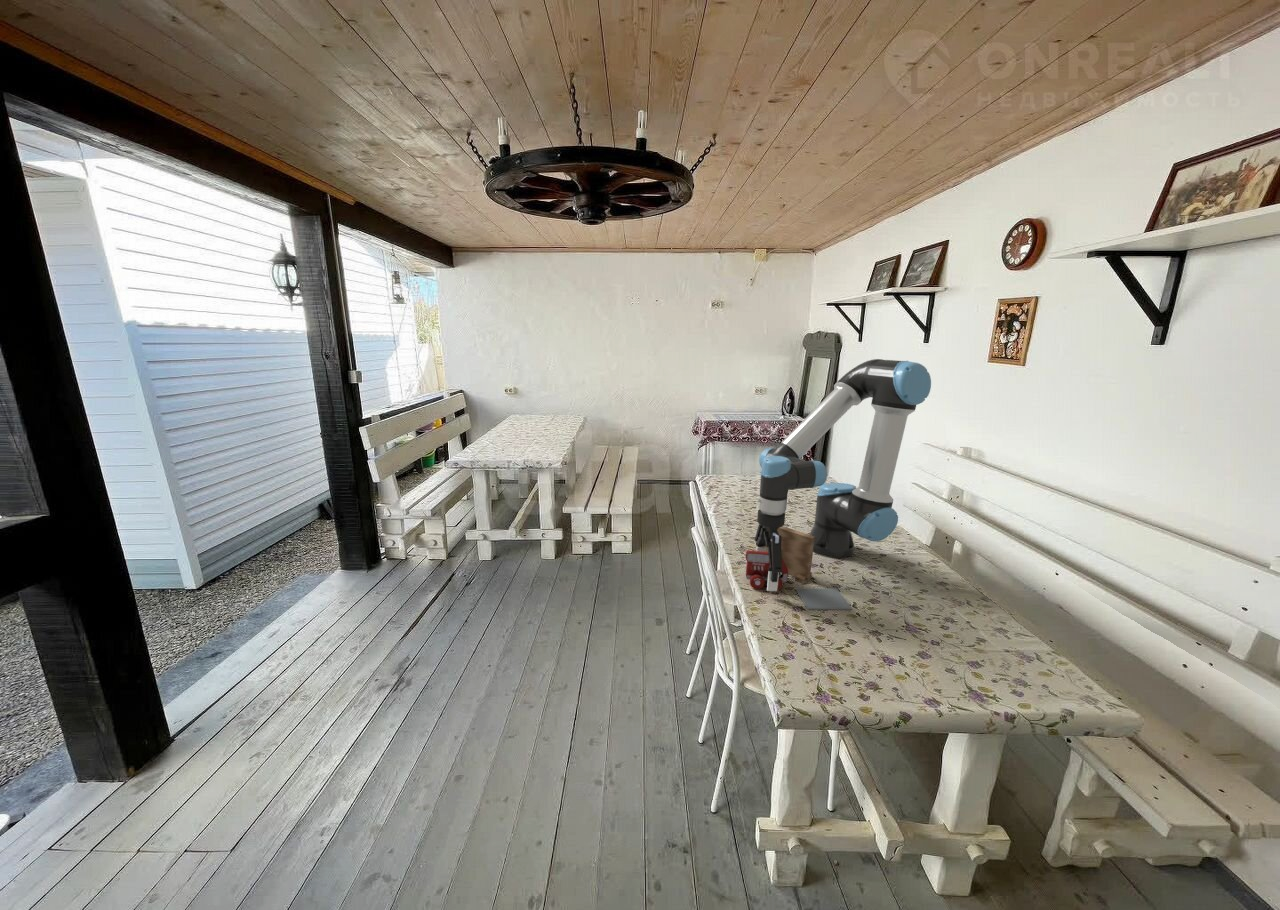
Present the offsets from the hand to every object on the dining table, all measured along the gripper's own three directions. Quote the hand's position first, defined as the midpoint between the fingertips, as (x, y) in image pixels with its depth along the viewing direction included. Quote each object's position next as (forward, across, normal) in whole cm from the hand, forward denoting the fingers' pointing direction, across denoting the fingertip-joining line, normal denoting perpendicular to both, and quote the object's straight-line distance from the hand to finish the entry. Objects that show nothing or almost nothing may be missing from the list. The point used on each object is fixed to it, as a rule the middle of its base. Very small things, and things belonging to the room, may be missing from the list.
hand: (765, 578), depth 137 cm
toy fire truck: (+2, 0, 0) cm, 2 cm away
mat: (+2, +8, +14) cm, 16 cm away
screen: (+2, -8, +8) cm, 12 cm away
